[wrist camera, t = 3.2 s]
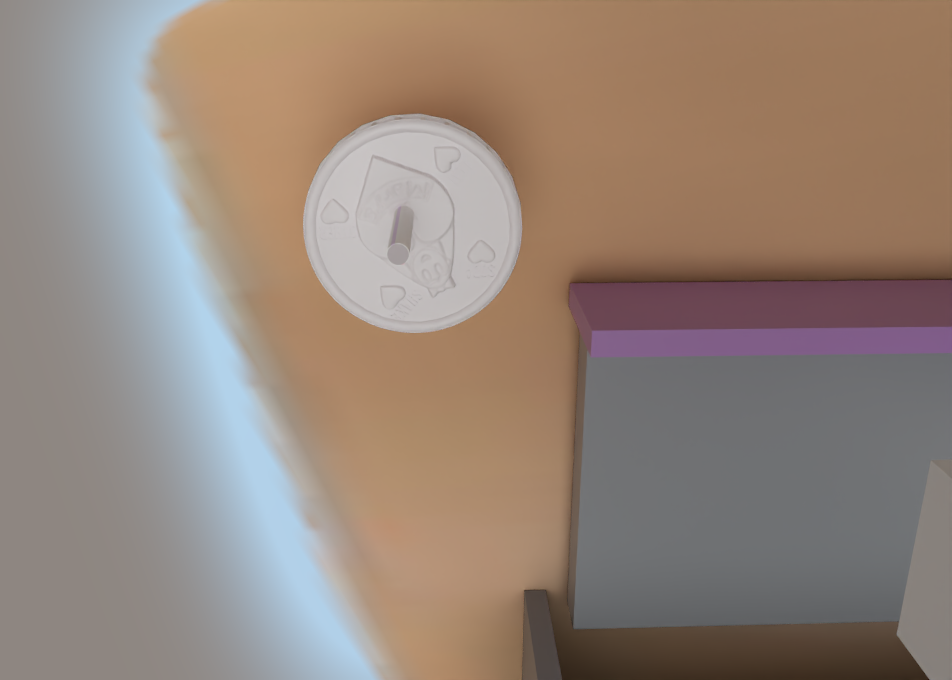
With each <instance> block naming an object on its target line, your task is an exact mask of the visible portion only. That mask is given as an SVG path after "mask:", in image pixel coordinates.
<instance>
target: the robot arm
mask: <svg viewBox="0 0 952 680" xmlns="http://www.w3.org/2000/svg"><path fill="white" fill-rule="evenodd" d="M897 636H898V637H899V639H900V640H901V641H902V643H903V644H904V645H905V647H906V648H907V650H908V651H909V652H910V654H911V655H912V656H913V658H914V659H915V660H916V662H917V663H918V665H919V666H920V667H921V669H922V670H923V671H924V673H925V674H926V675H927V677H928V678H929V680H952V459H948V460H931V462H930V467H929V472H928V477H927V482H926V488H925V493H924V498H923V503H922V508H921V513H920V518H919V523H918V528H917V533H916V538H915V543H914V548H913V554H912V559H911V564H910V569H909V574H908V579H907V584H906V589H905V594H904V599H903V604H902V609H901V615H900V620H899V625H898V630H897Z"/></svg>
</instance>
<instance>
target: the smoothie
mask: <svg viewBox="0 0 952 680" xmlns="http://www.w3.org/2000/svg"><path fill="white" fill-rule="evenodd" d="M303 230H304V240H305V246H306V250H307V254H308V257H309V260H310V262H311V265H312V268H313V270H314V272H315V273H316V275H317V277H318V279H319V280H320V282H321V284H322V285H323V287H324V288H325V289H326V290H327V292H328V293H329V294H330V295H331V296H332V297H333V298H334V300H335V301H336V302H337V303H339V304H340V305H341V306H342V307H343V308H344V309H346V310H347V311H348V312H350V313H351V314H353V315H354V316H356V317H358V318H359V319H361V320H363V321H365V322H367V323H369V324H372V325H374V326H377V327H380V328H383V329H387V330H391V331H397V332H406V333H423V332H432V331H437V330H442V329H445V328H448V327H451V326H454V325H456V324H459V323H461V322H463V321H465V320H467V319H469V318H471V317H472V316H474V315H475V314H477V313H478V312H480V311H481V310H482V309H483V308H485V307H486V306H487V305H488V304H489V303H490V302H491V301H492V300H493V299H494V298H495V297H496V296H497V294H498V293H499V292H500V291H501V290H502V288H503V287H504V285H505V284H506V282H507V280H508V279H509V277H510V275H511V273H512V271H513V268H514V266H515V264H516V261H517V258H518V254H519V250H520V245H521V237H522V219H521V203H520V200H519V197H518V193H517V190H516V187H515V184H514V181H513V178H512V175H511V174H510V172H509V171H508V169H507V168H506V166H505V165H504V163H503V161H502V160H501V158H500V157H499V155H498V154H497V152H496V151H495V150H493V149H492V148H491V147H490V146H489V145H488V144H487V143H486V142H485V141H483V140H482V139H481V138H480V137H479V136H478V135H477V134H476V133H474V132H472V131H470V130H468V129H466V128H465V127H463V126H461V125H459V124H457V123H455V122H453V121H451V120H449V119H444V118H439V117H434V116H429V115H425V114H420V113H419V114H404V115H390V116H387V117H384V118H381V119H378V120H375V121H372V122H370V123H367V124H364V125H362V126H360V127H359V128H357V129H356V130H354V131H353V132H351V133H350V134H349V135H347V136H346V137H344V138H343V139H341V140H340V141H339V142H338V143H337V144H336V145H335V146H334V148H333V149H332V150H331V151H330V152H329V154H328V155H327V156H326V157H325V158H324V160H323V161H322V162H321V163H320V165H319V167H318V170H317V172H316V174H315V177H314V179H313V181H312V183H311V186H310V188H309V191H308V195H307V199H306V203H305V209H304V218H303Z"/></svg>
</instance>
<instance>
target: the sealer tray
mask: <svg viewBox="0 0 952 680" xmlns="http://www.w3.org/2000/svg"><path fill="white" fill-rule="evenodd" d="M569 308H570V310H571V313H572V315H573V317H574V320H575V322H576V324H577V327H578V329H579V331H580V339H579V360H578V381H577V403H576V424H575V445H574V467H573V488H572V510H571V531H570V552H569V574H568V595H567V602H568V607H569V612H570V616H571V621H572V626H573V629H604V628H645V627H687V626H728V625H770V624H811V623H853V622H894V621H899V620H900V615H901V609H902V604H903V599H904V594H905V589H906V584H907V579H908V574H909V569H910V564H911V559H912V554H913V548H914V543H915V538H916V533H917V528H918V523H919V518H920V513H921V508H922V503H923V498H924V493H925V488H926V482H927V477H928V472H929V467H930V462H931V460H948V459H952V280H873V281H763V282H653V283H570V291H569Z"/></svg>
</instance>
